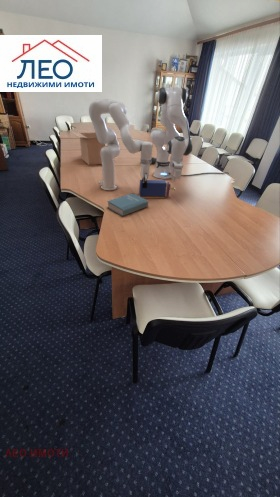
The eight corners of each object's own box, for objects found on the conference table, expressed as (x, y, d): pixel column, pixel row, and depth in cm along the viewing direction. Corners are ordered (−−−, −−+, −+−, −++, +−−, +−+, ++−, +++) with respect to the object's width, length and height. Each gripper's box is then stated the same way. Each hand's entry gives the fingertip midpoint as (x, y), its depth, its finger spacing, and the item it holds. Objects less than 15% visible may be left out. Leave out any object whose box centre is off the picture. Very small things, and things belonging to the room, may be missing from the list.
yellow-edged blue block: (163, 194, 175) (165, 180, 168) (164, 198, 170) (166, 183, 163) (138, 194, 172) (139, 179, 165) (139, 197, 167) (140, 182, 160)
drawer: (173, 194, 175) (175, 182, 169) (174, 196, 171) (176, 184, 165) (144, 193, 172) (145, 181, 166) (145, 196, 168) (146, 183, 162)
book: (132, 199, 164) (132, 193, 161) (147, 207, 155) (148, 200, 152) (107, 207, 150) (107, 200, 147) (123, 216, 141) (123, 209, 138)
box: (116, 165, 229) (116, 136, 213) (83, 168, 214) (80, 137, 198) (102, 154, 259) (101, 128, 243) (71, 156, 244) (68, 129, 228)
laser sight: (159, 165, 238) (161, 156, 232) (139, 163, 241) (140, 153, 235) (161, 163, 246) (162, 153, 240) (141, 161, 248) (141, 151, 242)
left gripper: (139, 157, 161) (137, 181, 172) (142, 164, 147) (140, 190, 158) (149, 158, 162) (147, 182, 173) (153, 165, 148) (150, 190, 159)
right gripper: (168, 158, 165) (166, 176, 173) (175, 166, 149) (172, 186, 157) (176, 158, 166) (173, 176, 174) (184, 166, 150) (180, 186, 158)
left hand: (144, 185), depth 165 cm, fingers closed on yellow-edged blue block, 6 cm apart
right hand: (173, 181), depth 165 cm, fingers closed
